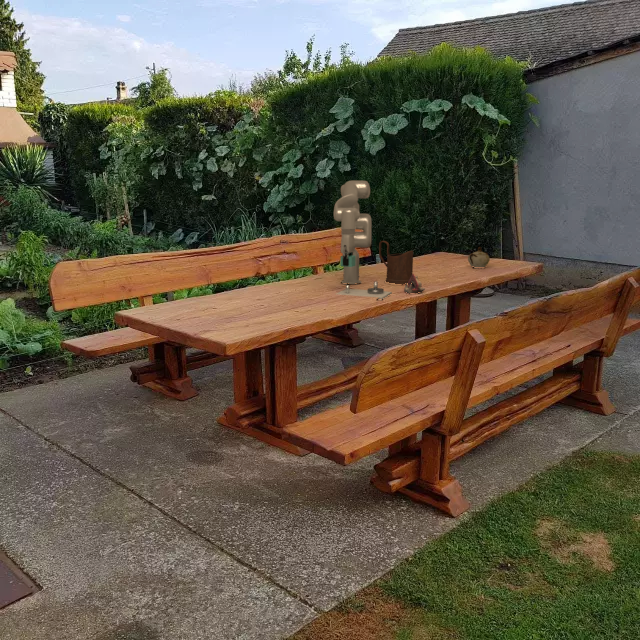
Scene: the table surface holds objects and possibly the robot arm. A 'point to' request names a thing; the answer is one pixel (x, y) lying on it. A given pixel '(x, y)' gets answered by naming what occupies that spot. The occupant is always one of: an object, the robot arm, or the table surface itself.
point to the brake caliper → (413, 285)
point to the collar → (351, 261)
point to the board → (363, 293)
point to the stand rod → (347, 288)
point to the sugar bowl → (478, 258)
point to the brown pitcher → (398, 266)
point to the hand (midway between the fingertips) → (347, 264)
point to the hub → (375, 289)
